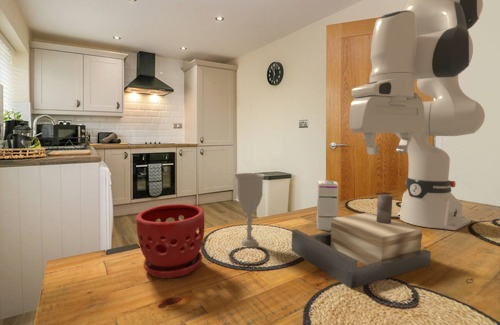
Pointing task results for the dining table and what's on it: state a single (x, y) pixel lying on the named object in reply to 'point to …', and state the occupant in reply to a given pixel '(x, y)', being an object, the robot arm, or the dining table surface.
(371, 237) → the beige knobbed block
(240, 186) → the chalice
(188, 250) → the plant pot
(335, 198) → the syrup box
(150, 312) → the dining table surface
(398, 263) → the bay
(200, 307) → the dining table surface
